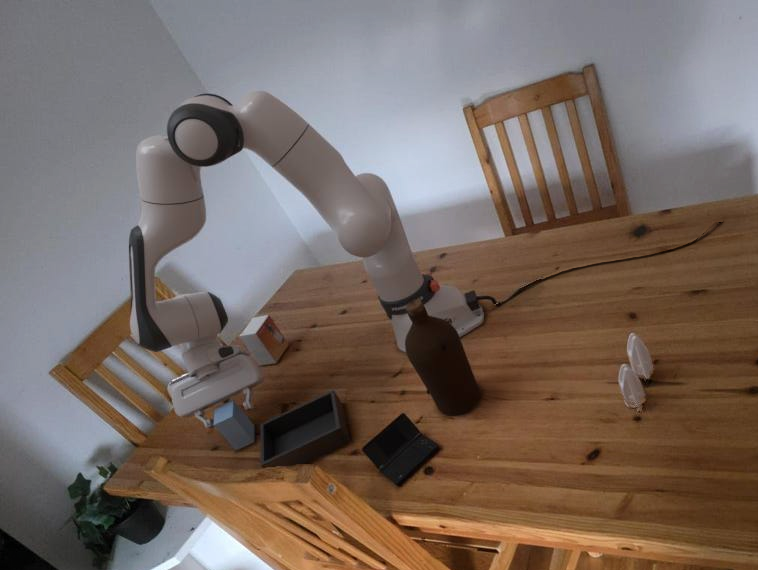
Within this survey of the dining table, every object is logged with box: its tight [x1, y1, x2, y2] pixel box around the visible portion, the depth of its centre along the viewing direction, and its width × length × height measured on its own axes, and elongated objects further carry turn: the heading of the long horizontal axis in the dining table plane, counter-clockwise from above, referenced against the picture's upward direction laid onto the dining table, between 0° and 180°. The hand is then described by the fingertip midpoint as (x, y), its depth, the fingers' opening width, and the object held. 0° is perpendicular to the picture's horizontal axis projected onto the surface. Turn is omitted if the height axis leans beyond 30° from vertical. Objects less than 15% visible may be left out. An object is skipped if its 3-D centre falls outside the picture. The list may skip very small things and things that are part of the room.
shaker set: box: [617, 332, 654, 413], centre depth 107 cm, size 12×4×11 cm, turn 155°
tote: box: [259, 389, 351, 469], centre depth 128 cm, size 18×14×5 cm
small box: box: [238, 314, 290, 366], centre depth 158 cm, size 8×6×10 cm
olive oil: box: [405, 299, 481, 417], centre depth 116 cm, size 11×11×25 cm
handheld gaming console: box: [361, 412, 440, 487], centre depth 114 cm, size 12×7×10 cm
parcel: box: [213, 399, 255, 451], centre depth 134 cm, size 4×6×9 cm
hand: (230, 418), depth 133 cm, fingers open, 8 cm apart
